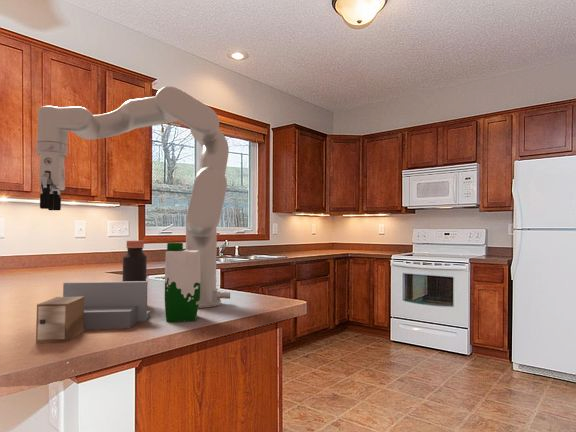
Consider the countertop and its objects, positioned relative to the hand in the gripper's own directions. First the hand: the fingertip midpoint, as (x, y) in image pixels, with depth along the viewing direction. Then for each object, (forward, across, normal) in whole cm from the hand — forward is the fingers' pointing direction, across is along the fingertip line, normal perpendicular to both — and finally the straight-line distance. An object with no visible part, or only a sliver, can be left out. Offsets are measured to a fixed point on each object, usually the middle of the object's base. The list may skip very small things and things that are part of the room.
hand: (50, 209), depth 112 cm
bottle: (+29, +1, -23) cm, 37 cm away
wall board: (+29, -20, -16) cm, 39 cm away
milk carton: (+29, -22, -35) cm, 51 cm away
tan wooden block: (+29, -30, -9) cm, 43 cm away
